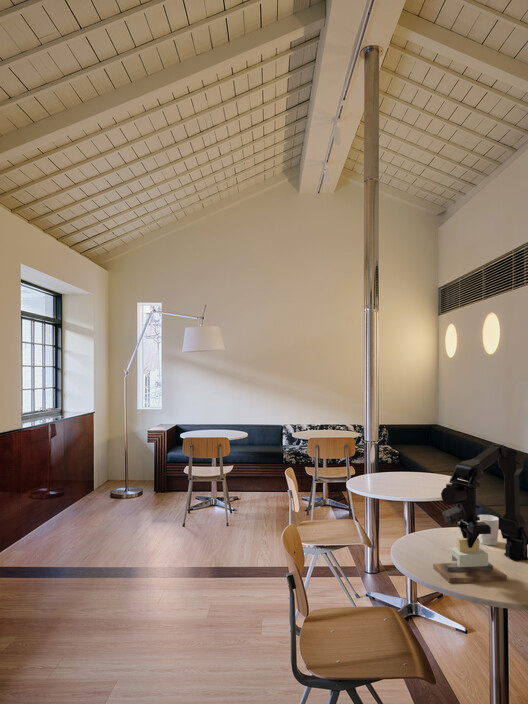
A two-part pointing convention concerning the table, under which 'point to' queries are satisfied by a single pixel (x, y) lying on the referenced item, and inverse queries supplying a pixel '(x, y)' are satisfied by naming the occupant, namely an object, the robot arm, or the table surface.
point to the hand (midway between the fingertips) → (468, 546)
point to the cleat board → (469, 573)
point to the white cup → (493, 523)
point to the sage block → (468, 554)
